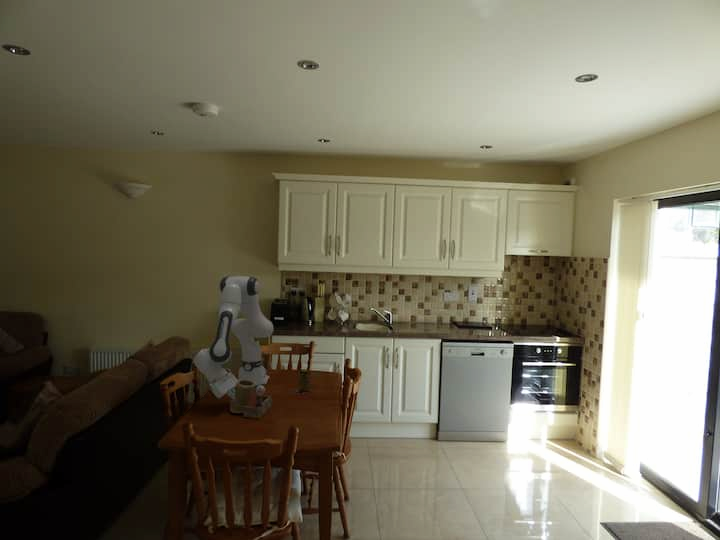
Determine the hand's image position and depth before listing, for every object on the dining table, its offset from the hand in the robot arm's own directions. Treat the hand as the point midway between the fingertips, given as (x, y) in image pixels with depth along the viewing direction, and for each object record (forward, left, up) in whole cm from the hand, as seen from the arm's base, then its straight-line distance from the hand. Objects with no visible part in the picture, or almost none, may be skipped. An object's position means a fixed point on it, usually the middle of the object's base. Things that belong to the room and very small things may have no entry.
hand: (235, 397), depth 226 cm
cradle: (0, +12, -6) cm, 13 cm away
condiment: (-36, +26, -6) cm, 45 cm away
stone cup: (0, +3, -6) cm, 7 cm away
